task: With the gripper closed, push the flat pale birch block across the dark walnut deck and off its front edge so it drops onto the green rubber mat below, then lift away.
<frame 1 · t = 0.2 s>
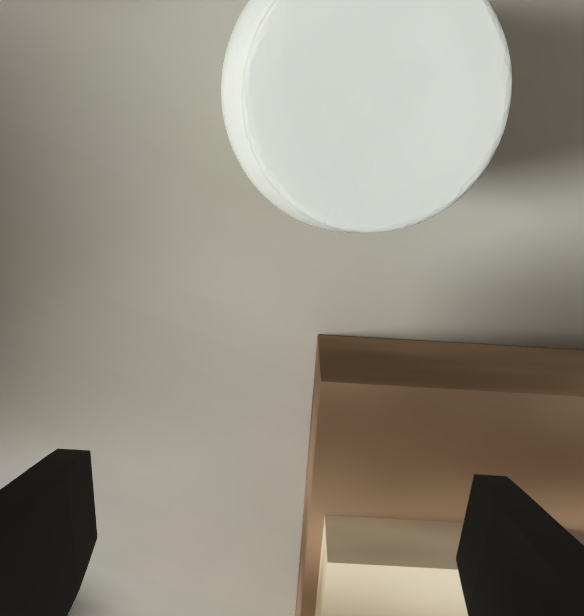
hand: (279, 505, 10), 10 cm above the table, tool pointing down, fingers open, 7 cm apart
birch block: (427, 609, 20), point 3 cm above the table, touching walnut deck
walnut deck: (421, 537, 23), on the table
supplement bottle 2: (336, 97, 17), on the table
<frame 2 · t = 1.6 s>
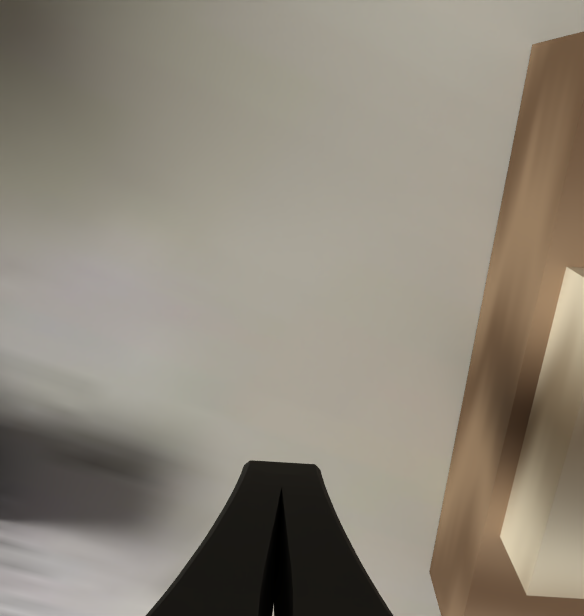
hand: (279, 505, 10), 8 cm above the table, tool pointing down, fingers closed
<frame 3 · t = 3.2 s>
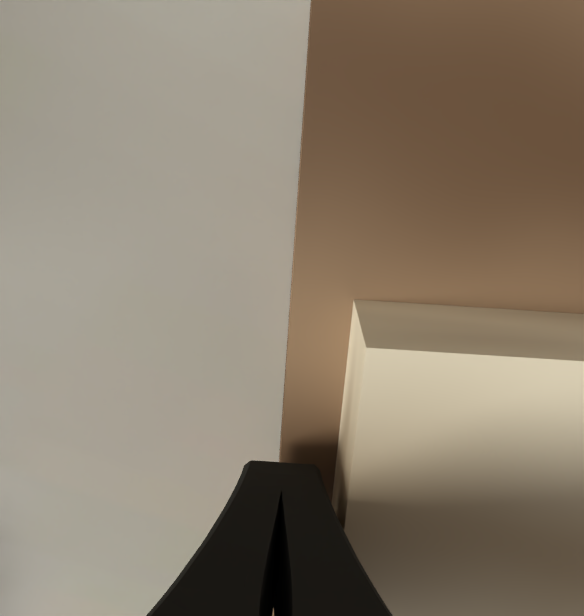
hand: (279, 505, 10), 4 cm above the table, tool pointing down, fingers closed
birch block: (531, 498, 11), point 4 cm above the table, touching walnut deck
walnut deck: (474, 407, 14), on the table
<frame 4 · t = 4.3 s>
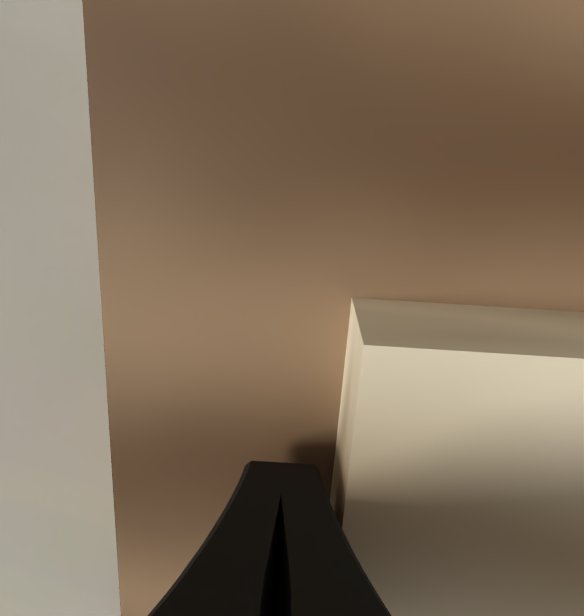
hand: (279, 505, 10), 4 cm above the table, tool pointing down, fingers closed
birch block: (529, 496, 11), point 3 cm above the table, touching gripper, walnut deck
walnut deck: (347, 398, 14), on the table
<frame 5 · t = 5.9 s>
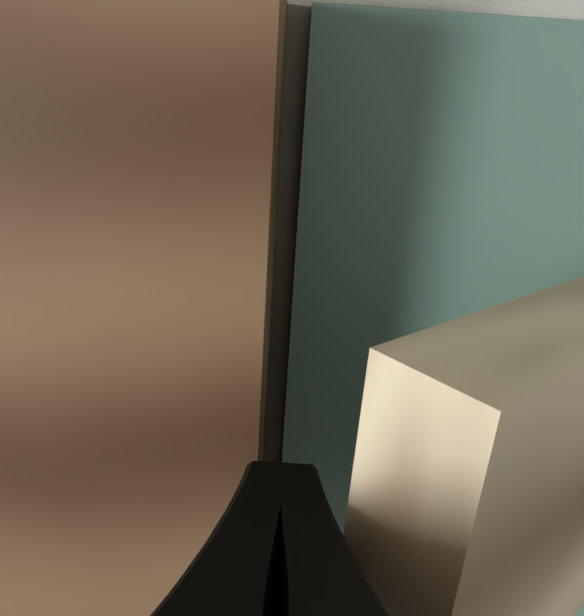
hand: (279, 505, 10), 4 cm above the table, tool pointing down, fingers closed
birch block: (472, 477, 12), point 3 cm above the table, tilted 42°, touching gripper, rubber mat
walnut deck: (74, 381, 14), on the table
rubber mat: (496, 407, 14), on the table
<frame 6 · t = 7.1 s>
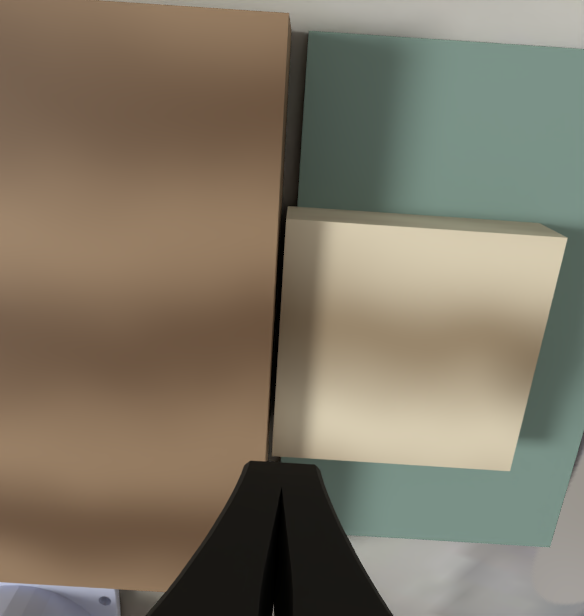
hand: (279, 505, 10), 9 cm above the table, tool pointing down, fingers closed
birch block: (397, 330, 19), resting on rubber mat
walnut deck: (131, 309, 19), on the table
rubber mat: (447, 329, 19), on the table
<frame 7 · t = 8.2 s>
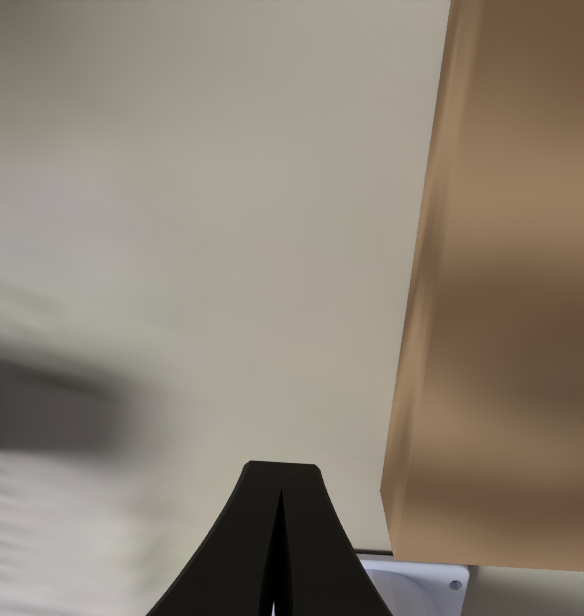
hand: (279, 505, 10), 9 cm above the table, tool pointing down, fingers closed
walnut deck: (559, 281, 19), on the table
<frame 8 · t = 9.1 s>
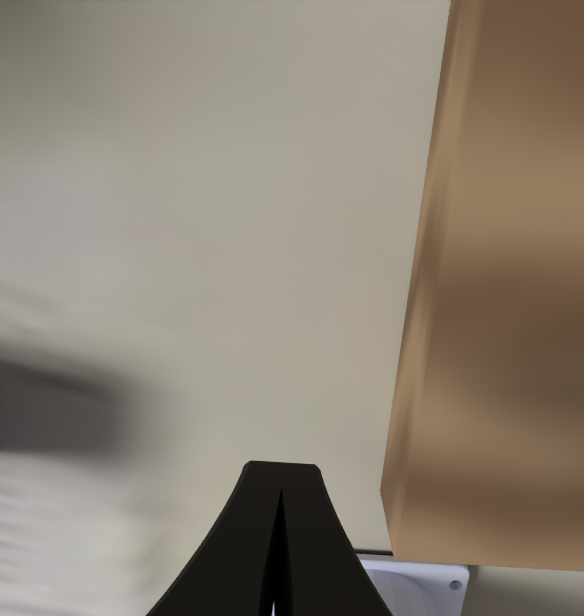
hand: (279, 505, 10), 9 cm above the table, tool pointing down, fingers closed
walnut deck: (559, 281, 19), on the table
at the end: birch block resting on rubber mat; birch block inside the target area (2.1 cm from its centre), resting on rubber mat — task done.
